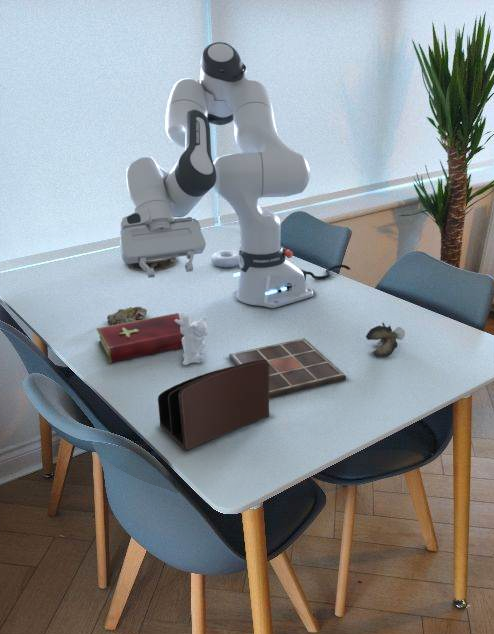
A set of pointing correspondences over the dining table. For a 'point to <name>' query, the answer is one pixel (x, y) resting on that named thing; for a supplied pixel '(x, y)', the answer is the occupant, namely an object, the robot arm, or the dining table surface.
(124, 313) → the mineral rock
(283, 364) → the board
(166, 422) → the letter holder
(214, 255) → the donut
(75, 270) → the dining table surface
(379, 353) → the eagle figurine
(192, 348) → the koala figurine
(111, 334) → the hardcover book
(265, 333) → the dining table surface
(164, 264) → the tambourine
